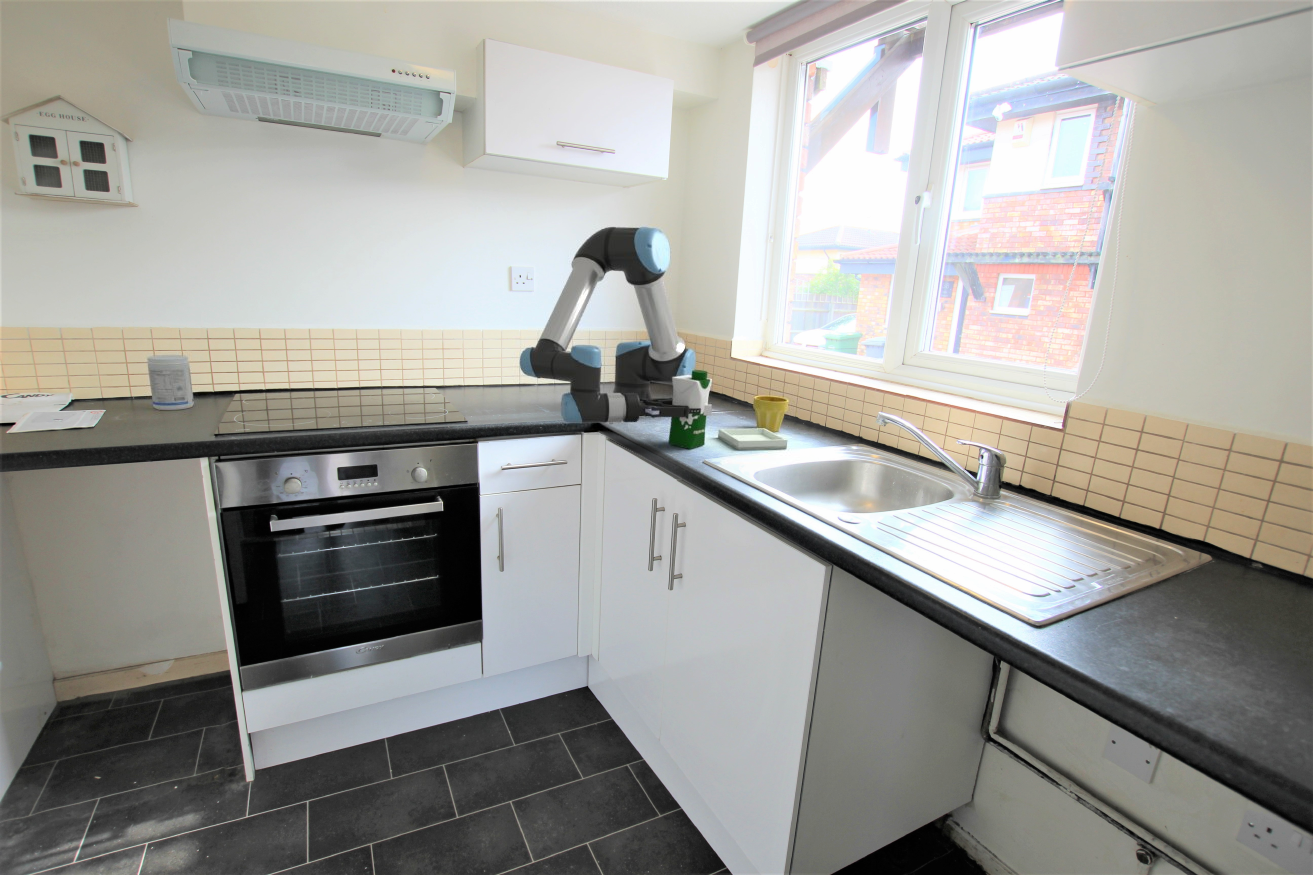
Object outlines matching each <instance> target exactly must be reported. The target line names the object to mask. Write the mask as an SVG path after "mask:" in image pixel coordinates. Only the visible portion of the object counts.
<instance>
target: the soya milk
mask: <svg viewBox="0 0 1313 875" xmlns="http://www.w3.org/2000/svg"><path fill="white" fill-rule="evenodd" d="M672 381H673V385H672V390H673V392H672V398H673V403H672V405H681V406H689V408H701V414H689V416H688V419H686V417H670V427H669V435H668V444H670V445H673V446H678V447H681V448H685V449H688V450H691V449H695V448H697V447H701V446H705V443H706V442H705V439H706V424H707V415H704V407H705V405H709V403H708V402H709V394H710V391H711V387H712V383H713V379H712V378H708V371H707V370H701V369H694V370H693V371H692V376H691V375H684V376H677V377H672ZM692 412H693V411H692ZM695 412H696V411H695ZM697 412H698V411H697Z"/></svg>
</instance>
